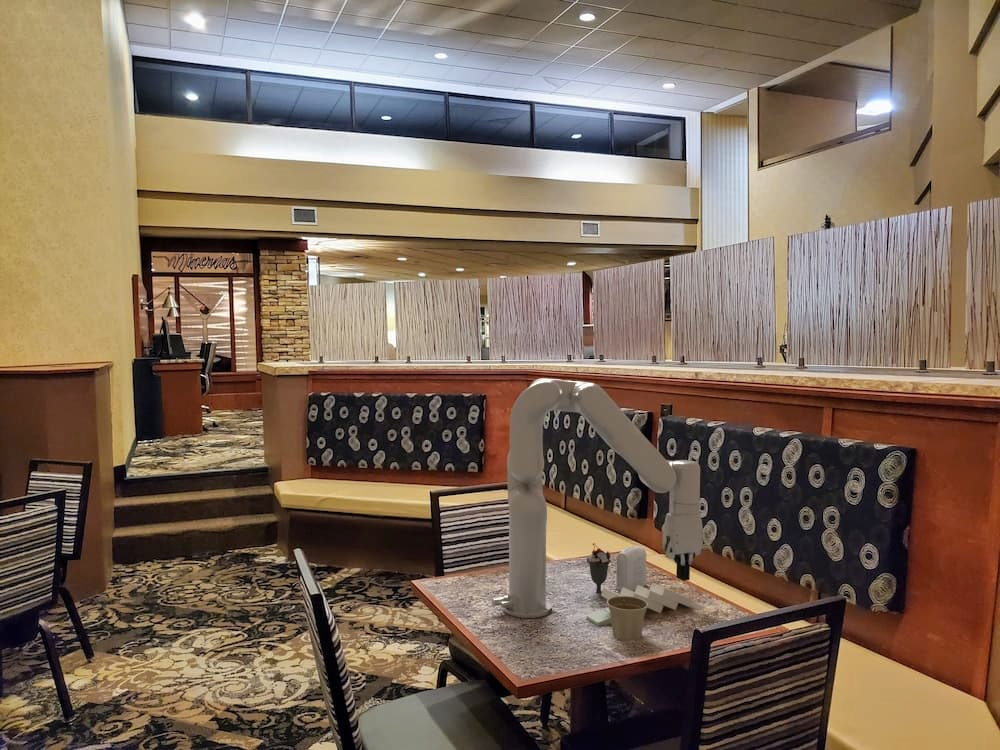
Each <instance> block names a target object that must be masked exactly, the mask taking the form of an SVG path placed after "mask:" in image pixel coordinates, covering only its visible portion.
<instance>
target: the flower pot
mask: <svg viewBox="0 0 1000 750" xmlns="http://www.w3.org/2000/svg"><path fill="white" fill-rule="evenodd" d="M606 605H607V607H609V610H610V614H611V622H612V623H611V628H612V629H611V630H612V635H613V637H614V638H617V639H619V640H623V641H627V642H628V641H630V642H631V641H637V640H639V639H641V638H642V635H643V627H644V615H645V613H646V608H647V607H648V603H647V601H645V600H643V599H640V598H637V597H631V596H616V597H612V598H609V599H606Z"/></svg>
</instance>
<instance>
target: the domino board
mask: <svg viewBox="0 0 1000 750" xmlns="http://www.w3.org/2000/svg"><path fill="white" fill-rule="evenodd" d="M661 605H662V604H661ZM702 609H706V607H705V606H702V605H701V604H698V603H696V602H694V601H692V603H691V605H690V607H688V606H686V605H683V604H681V603H678V605H677V608H676V610H674V609H671V608H669V607H667V606H664V605H663V609H662V611H661V613H659V612H656V611H654V610H652V609H649V608H646V613H645V615H644V621H648V620H654V619H658V618H664V617H668V616H673V615H677V614H681V613H682V614H683V613H688V612H693V611H696V610H697V611H698V610H702ZM644 621H643V622H644Z"/></svg>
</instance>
